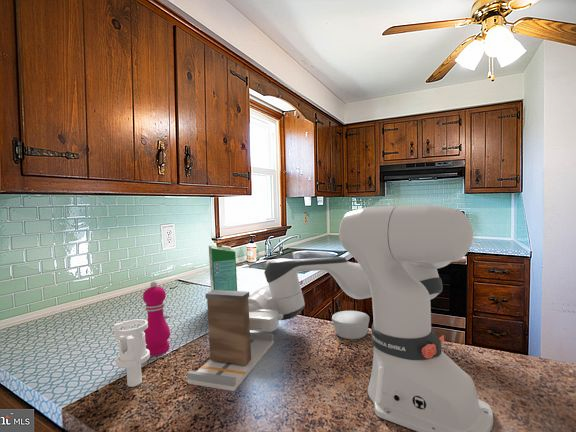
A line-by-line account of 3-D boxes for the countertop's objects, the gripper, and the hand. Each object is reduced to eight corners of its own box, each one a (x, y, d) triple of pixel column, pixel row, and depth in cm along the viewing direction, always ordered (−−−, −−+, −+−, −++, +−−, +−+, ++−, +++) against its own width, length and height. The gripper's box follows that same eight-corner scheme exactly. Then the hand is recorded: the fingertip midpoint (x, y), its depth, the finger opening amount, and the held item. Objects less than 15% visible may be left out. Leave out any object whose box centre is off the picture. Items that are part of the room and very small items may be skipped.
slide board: (236, 339, 94) (236, 331, 94) (273, 343, 90) (273, 334, 90) (187, 383, 71) (187, 372, 71) (234, 391, 68) (233, 380, 67)
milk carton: (238, 308, 122) (235, 245, 121) (215, 312, 119) (211, 247, 118) (233, 302, 130) (230, 243, 129) (211, 305, 127) (208, 245, 126)
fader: (216, 354, 82) (213, 289, 81) (252, 358, 79) (249, 291, 78) (209, 360, 78) (205, 293, 78) (246, 366, 75) (242, 295, 74)
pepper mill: (161, 357, 85) (157, 284, 84) (138, 355, 86) (133, 284, 85) (176, 345, 92) (172, 278, 91) (154, 344, 93) (150, 278, 92)
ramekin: (326, 330, 98) (325, 313, 98) (356, 323, 102) (355, 308, 102) (344, 344, 88) (344, 326, 88) (377, 337, 92) (376, 319, 92)
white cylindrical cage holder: (113, 383, 73) (109, 320, 72) (144, 371, 78) (141, 312, 77) (123, 396, 68) (119, 328, 67) (155, 382, 72) (152, 319, 72)
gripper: (285, 324, 90) (268, 346, 77) (223, 319, 96) (197, 338, 83) (284, 303, 90) (267, 321, 76) (222, 299, 96) (196, 315, 83)
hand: (230, 330), depth 80 cm, fingers closed
